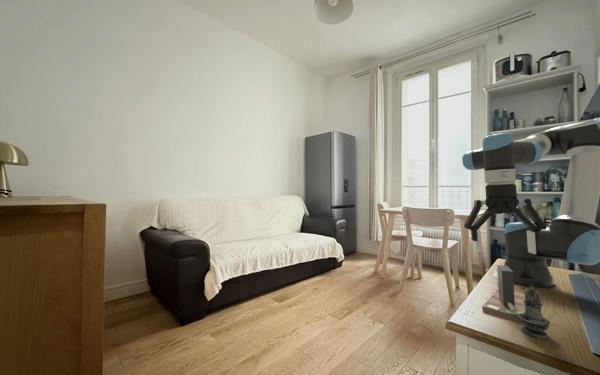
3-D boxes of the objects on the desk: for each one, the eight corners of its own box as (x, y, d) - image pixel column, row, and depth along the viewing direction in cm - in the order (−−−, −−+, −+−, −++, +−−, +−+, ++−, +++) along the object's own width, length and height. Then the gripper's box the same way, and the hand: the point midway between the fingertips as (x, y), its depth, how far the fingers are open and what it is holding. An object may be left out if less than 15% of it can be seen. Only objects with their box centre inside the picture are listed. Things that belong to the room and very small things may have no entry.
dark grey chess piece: (553, 334, 61) (550, 285, 62) (548, 342, 58) (545, 291, 58) (522, 324, 66) (520, 279, 66) (515, 331, 63) (513, 284, 63)
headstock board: (498, 292, 86) (498, 288, 86) (538, 301, 79) (537, 296, 79) (482, 311, 74) (482, 306, 74) (527, 324, 66) (527, 318, 66)
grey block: (498, 296, 79) (496, 264, 79) (509, 298, 78) (508, 265, 78) (506, 310, 70) (504, 274, 70) (519, 312, 69) (517, 275, 69)
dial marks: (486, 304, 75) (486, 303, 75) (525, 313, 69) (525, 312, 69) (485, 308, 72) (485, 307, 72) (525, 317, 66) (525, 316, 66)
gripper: (457, 185, 77) (461, 253, 77) (559, 181, 69) (565, 256, 68) (451, 186, 84) (455, 248, 84) (543, 181, 76) (548, 250, 76)
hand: (504, 252), depth 76 cm, fingers open, 13 cm apart
